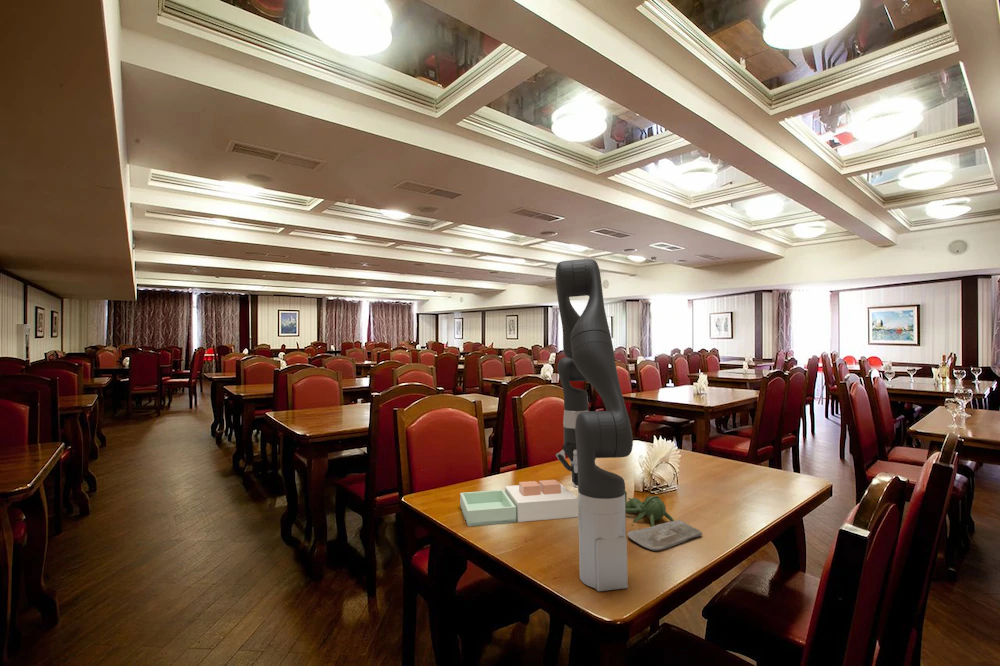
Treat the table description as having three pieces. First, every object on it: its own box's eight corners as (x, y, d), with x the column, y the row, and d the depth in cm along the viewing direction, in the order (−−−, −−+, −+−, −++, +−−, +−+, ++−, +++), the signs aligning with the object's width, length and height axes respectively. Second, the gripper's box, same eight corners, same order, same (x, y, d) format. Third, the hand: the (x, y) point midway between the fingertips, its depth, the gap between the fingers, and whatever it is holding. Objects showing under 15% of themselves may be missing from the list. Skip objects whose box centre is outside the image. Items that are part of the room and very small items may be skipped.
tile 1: (540, 494, 132) (540, 485, 132) (523, 496, 131) (523, 487, 131) (535, 489, 137) (535, 480, 137) (519, 490, 136) (519, 482, 136)
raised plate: (578, 516, 128) (577, 498, 128) (518, 522, 125) (517, 503, 125) (559, 498, 144) (558, 482, 144) (505, 503, 140) (504, 486, 141)
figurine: (630, 487, 140) (679, 494, 124) (633, 514, 139) (683, 525, 122) (600, 493, 135) (647, 500, 119) (603, 521, 134) (651, 533, 117)
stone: (653, 550, 105) (621, 530, 113) (653, 562, 105) (621, 541, 114) (708, 529, 113) (675, 512, 122) (708, 540, 114) (675, 522, 122)
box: (516, 522, 125) (516, 507, 125) (467, 526, 122) (467, 511, 122) (503, 503, 140) (503, 489, 140) (460, 506, 138) (460, 492, 138)
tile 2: (560, 493, 133) (560, 484, 133) (544, 494, 132) (543, 485, 132) (555, 488, 138) (555, 479, 138) (538, 489, 137) (538, 480, 137)
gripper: (559, 428, 133) (560, 490, 132) (602, 426, 135) (603, 486, 135) (550, 424, 140) (551, 482, 139) (592, 422, 143) (593, 479, 142)
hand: (577, 484), depth 137 cm, fingers closed
